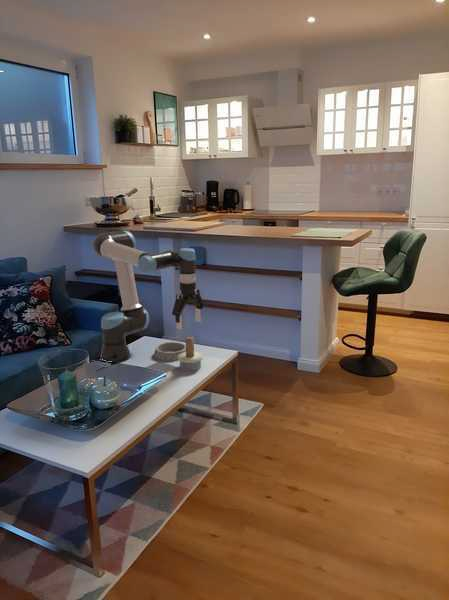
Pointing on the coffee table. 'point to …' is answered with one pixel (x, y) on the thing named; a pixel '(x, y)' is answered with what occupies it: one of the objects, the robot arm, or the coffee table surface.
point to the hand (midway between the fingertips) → (188, 325)
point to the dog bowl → (171, 346)
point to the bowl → (190, 366)
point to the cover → (190, 353)
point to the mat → (162, 367)
